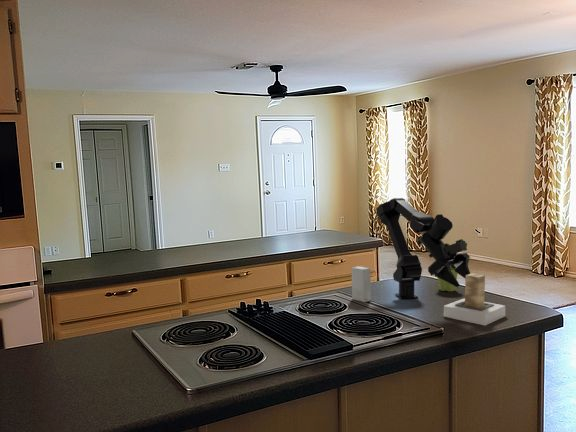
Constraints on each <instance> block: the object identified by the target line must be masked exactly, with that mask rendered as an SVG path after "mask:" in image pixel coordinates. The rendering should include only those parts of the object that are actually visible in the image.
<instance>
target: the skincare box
mask: <svg viewBox="0 0 576 432" xmlns="http://www.w3.org/2000/svg"><path fill="white" fill-rule="evenodd" d="M350 271H351V299H352V300H354V301H357V302H358V301H359V302H363V303H366V302H370V301H372V285H371V284H372V282H371V281H372V279H371V268H370V267H366V266H360V265H357V266H353V267H351V269H350Z"/></svg>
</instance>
